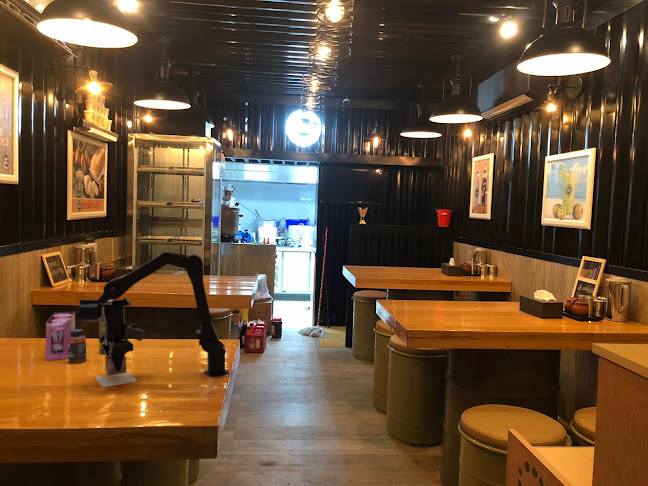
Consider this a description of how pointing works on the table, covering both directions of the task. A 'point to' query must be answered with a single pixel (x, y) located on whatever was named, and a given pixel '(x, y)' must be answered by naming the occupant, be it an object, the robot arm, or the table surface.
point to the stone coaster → (115, 379)
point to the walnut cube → (111, 369)
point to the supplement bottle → (76, 346)
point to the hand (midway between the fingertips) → (116, 369)
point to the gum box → (59, 335)
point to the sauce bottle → (102, 328)
